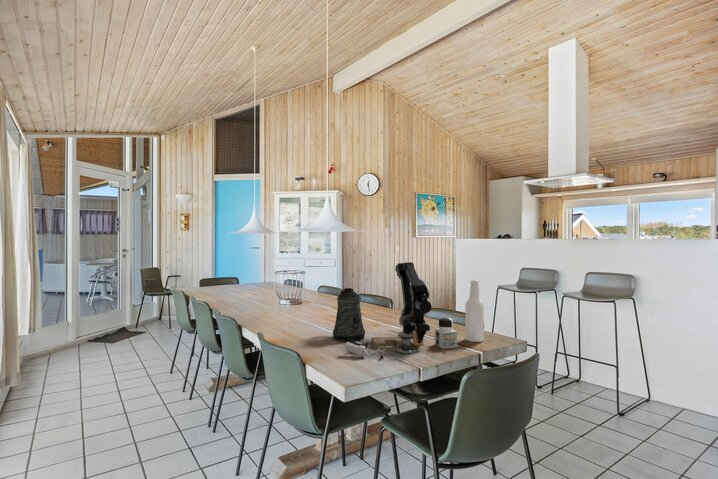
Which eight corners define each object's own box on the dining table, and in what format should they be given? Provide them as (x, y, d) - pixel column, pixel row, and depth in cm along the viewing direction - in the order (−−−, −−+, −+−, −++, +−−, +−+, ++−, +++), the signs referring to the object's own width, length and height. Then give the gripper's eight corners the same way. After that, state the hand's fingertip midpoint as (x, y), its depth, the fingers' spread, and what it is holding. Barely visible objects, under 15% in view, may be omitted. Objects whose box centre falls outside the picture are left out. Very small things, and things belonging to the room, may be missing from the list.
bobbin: (393, 349, 182) (393, 331, 182) (413, 348, 183) (413, 331, 183) (398, 354, 173) (398, 336, 173) (418, 353, 174) (418, 335, 174)
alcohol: (487, 341, 196) (487, 280, 196) (471, 343, 193) (472, 281, 193) (476, 337, 204) (477, 279, 204) (461, 338, 201) (462, 279, 201)
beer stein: (351, 344, 190) (351, 291, 190) (321, 338, 202) (321, 288, 202) (371, 337, 204) (371, 288, 204) (342, 332, 215) (342, 285, 215)
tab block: (413, 343, 193) (413, 330, 193) (421, 342, 193) (421, 330, 193) (415, 345, 189) (415, 332, 189) (423, 345, 189) (423, 332, 189)
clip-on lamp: (388, 361, 173) (352, 347, 181) (391, 347, 173) (355, 334, 181) (378, 366, 162) (340, 351, 170) (381, 351, 162) (343, 337, 170)
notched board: (371, 342, 193) (371, 337, 193) (403, 341, 195) (403, 336, 195) (374, 348, 182) (374, 343, 182) (409, 347, 184) (409, 342, 184)
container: (442, 348, 183) (442, 320, 183) (434, 344, 190) (434, 317, 190) (457, 347, 185) (457, 319, 185) (449, 343, 192) (449, 316, 192)
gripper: (397, 306, 199) (397, 337, 199) (406, 313, 181) (406, 347, 181) (419, 306, 201) (419, 337, 201) (430, 312, 182) (430, 346, 182)
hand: (418, 341), depth 191 cm, fingers open, 5 cm apart
